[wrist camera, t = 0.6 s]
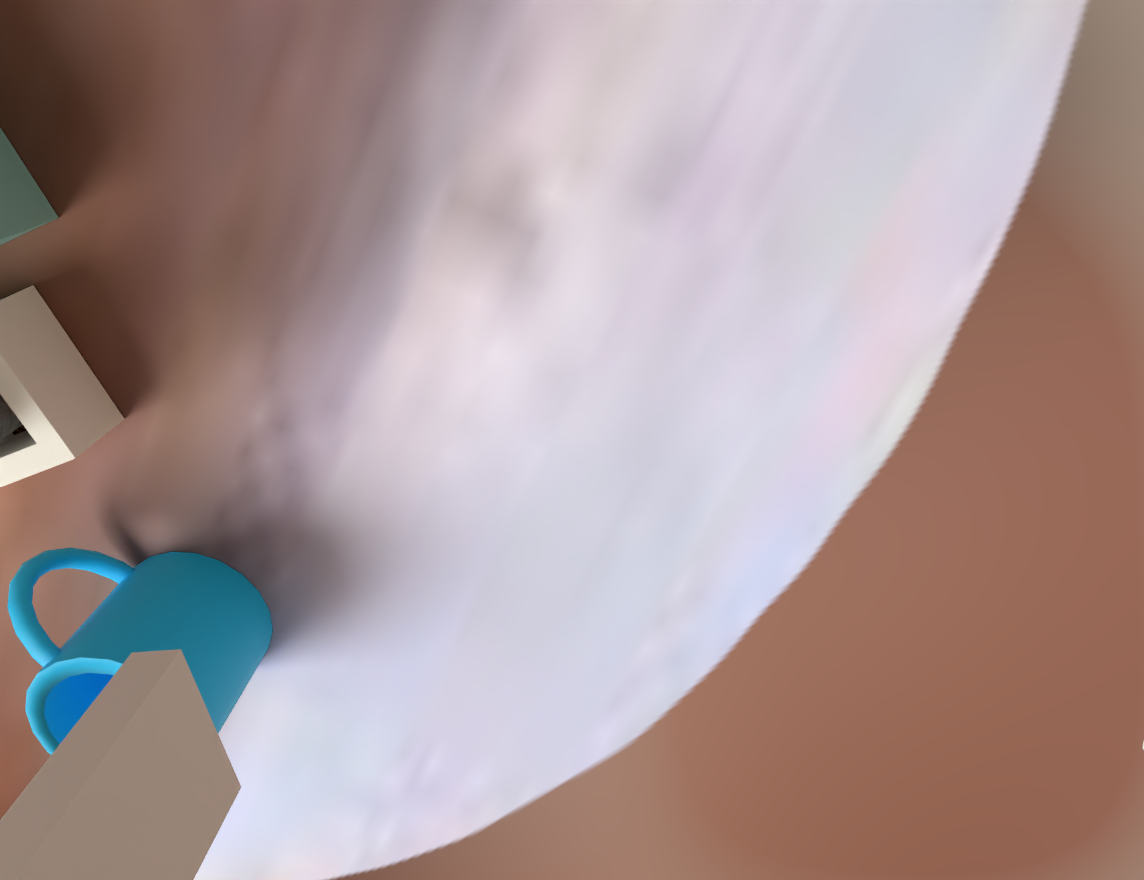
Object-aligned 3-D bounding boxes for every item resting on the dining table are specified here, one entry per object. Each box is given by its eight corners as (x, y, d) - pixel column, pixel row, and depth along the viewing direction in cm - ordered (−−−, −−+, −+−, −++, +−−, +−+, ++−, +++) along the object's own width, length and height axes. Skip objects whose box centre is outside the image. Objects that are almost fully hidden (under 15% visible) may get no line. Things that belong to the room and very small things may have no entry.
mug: (303, 622, 47) (239, 738, 40) (214, 697, 50) (139, 817, 42) (115, 472, 43) (7, 568, 36) (32, 561, 46) (-83, 667, 39)
